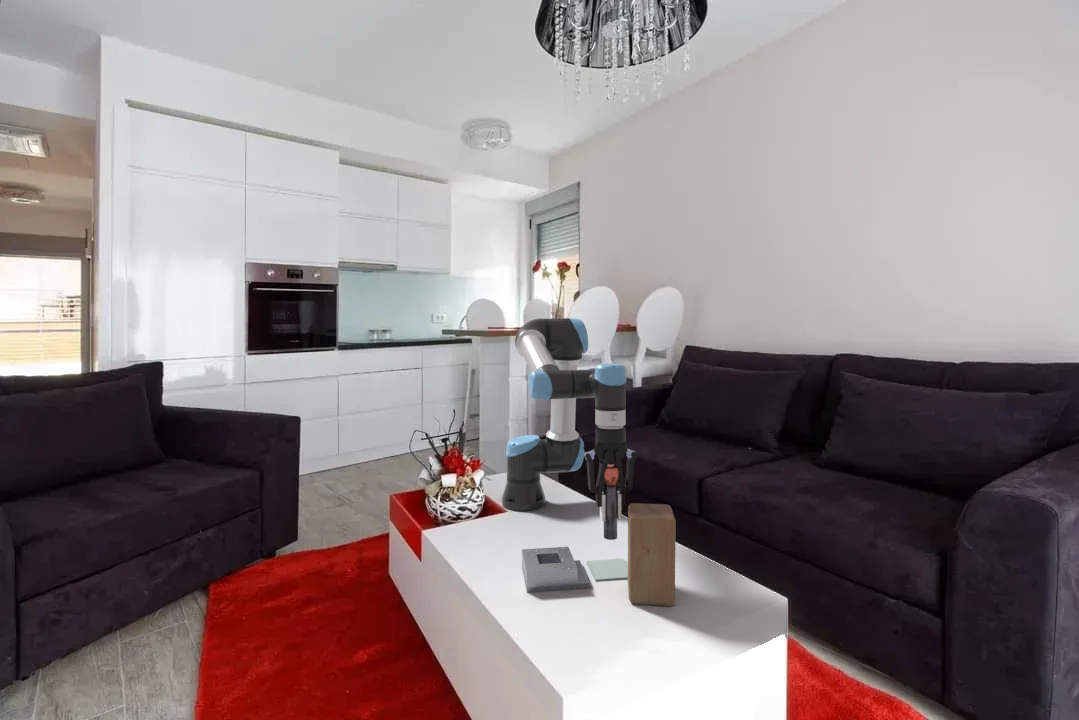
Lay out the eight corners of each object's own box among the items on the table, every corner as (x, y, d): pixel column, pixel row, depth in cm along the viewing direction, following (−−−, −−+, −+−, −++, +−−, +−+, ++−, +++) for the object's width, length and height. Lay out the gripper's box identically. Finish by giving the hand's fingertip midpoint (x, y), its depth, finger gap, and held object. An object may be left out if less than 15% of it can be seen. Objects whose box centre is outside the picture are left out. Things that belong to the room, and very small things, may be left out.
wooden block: (628, 605, 114) (629, 516, 113) (627, 582, 124) (628, 501, 122) (675, 608, 112) (676, 519, 111) (670, 585, 122) (671, 503, 121)
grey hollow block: (522, 568, 131) (521, 549, 131) (579, 564, 133) (579, 545, 133) (526, 592, 120) (526, 571, 119) (590, 587, 121) (590, 567, 121)
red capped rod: (604, 541, 127) (604, 469, 126) (599, 534, 131) (599, 464, 130) (621, 540, 128) (621, 468, 126) (616, 533, 132) (616, 464, 131)
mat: (586, 562, 135) (586, 560, 135) (623, 559, 136) (623, 558, 136) (595, 581, 125) (595, 579, 125) (635, 578, 126) (635, 576, 126)
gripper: (581, 430, 123) (581, 526, 124) (647, 427, 125) (646, 522, 127) (575, 424, 131) (575, 514, 132) (637, 422, 133) (637, 511, 134)
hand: (610, 518), depth 129 cm, fingers closed on red capped rod, 3 cm apart
